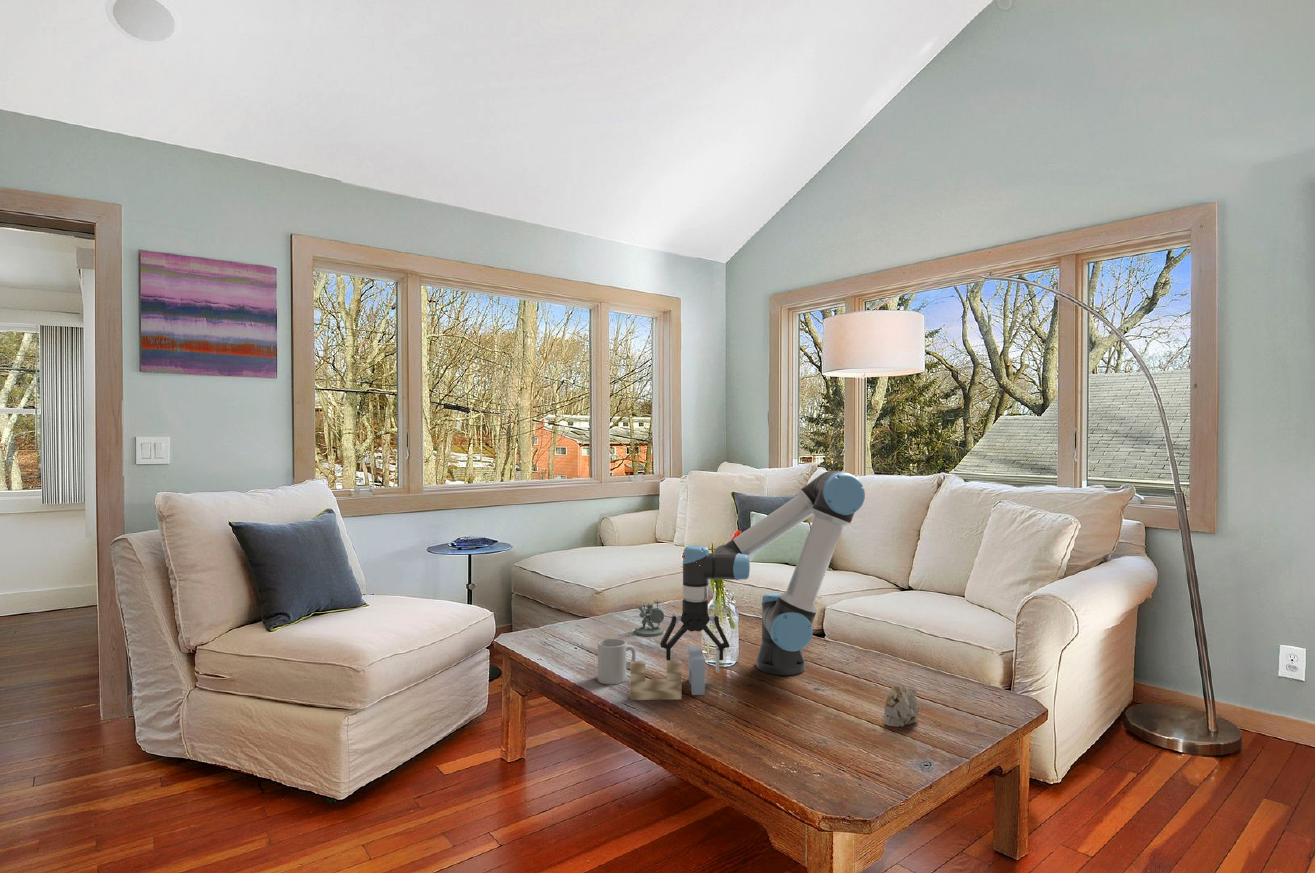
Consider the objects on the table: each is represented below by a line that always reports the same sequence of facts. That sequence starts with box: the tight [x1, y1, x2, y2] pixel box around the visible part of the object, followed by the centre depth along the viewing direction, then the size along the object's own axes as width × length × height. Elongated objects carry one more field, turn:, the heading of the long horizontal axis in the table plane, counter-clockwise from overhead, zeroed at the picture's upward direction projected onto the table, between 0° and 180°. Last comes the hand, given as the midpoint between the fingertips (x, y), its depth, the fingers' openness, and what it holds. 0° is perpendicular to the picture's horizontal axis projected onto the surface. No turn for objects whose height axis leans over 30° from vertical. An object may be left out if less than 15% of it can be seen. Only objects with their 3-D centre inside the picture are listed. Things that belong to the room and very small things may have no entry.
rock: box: [883, 685, 920, 728], centre depth 176 cm, size 12×7×10 cm, turn 133°
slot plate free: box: [688, 645, 706, 696], centre depth 199 cm, size 12×4×10 cm, turn 2°
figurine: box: [634, 598, 665, 638], centre depth 254 cm, size 11×11×12 cm
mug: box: [597, 638, 637, 685], centre depth 206 cm, size 12×8×11 cm
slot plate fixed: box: [630, 660, 683, 701], centre depth 190 cm, size 14×2×10 cm, turn 92°
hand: (694, 671), depth 203 cm, fingers open, 13 cm apart
